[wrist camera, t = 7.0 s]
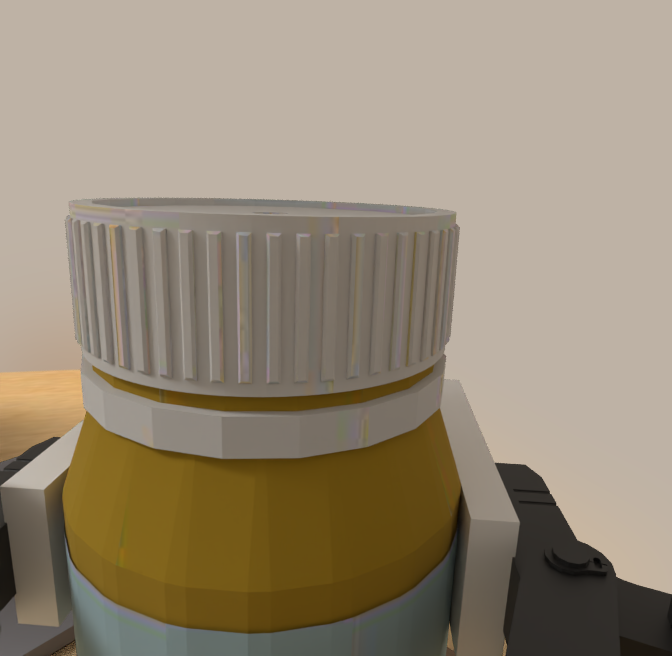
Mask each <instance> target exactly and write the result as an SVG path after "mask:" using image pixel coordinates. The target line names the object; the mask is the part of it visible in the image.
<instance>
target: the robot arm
mask: <svg viewBox="0 0 672 656" xmlns="http://www.w3.org/2000/svg"><path fill="white" fill-rule="evenodd" d="M440 410H441V413H442V417H443V421H444V424H445V428H446V431H447V435H448V438H449V442H450V445H451V449H452V452H453V456H454V459H455V463H456V467H457V471H458V474H459V478H460V482H461V490H460V501H459V511H458V521H457V528H458V525H459V530H458V540H457V550H456V560H455V570H454V580H453V590H452V600H451V610H450V620H449V621H450V627H451V633H452V639H453V645H454V651H455V656H502V654H503V646H504V639H505V640H506V643H507V651H506V656H672V594H668V593H664V592H661V591H657V590H654V589H650V588H646V587H643V586H639V585H636V584H633V583H630V582H627V581H624V580H622V579H620V578H618V577H616V573H615V571H614V568H613V566H612V563H611V562H610V561H609V560H608V559H607V558H606V557H605V556H604V555H603V554H602V553H601V552H599V551H597V550H596V549H594V548H592V547H591V546H589V545H588V544H585V543H582V542H580V541H577V539H576V537H575V535H574V533H573V532H572V530H571V528H570V526H569V525H568V523H567V521H566V519H565V518H564V516H563V514H562V512H561V511H560V509H559V507H558V506H556V502H555V500H554V498H553V497H552V495H551V494H550V491H549V489H548V488H547V486H546V484H545V482H544V481H543V479H542V477H540V476H539V475H538V474H537V473H535V472H534V471H533V470H531V469H530V468H529V467H527V466H526V465H521V464H505V463H494V461H493V458H492V456H491V454H490V451H489V449H488V447H487V444H486V442H485V439H484V437H483V435H482V432H481V431H480V428H479V426H478V423H477V421H476V419H475V416H474V414H473V411H472V409H471V407H470V404H469V402H468V400H467V397H466V395H465V393H464V390H463V388H462V386H461V383H460V381H459V380H446V379H444V385H443V393H442V399H441V406H440ZM83 421H84V420H82V421H81V422H80V423H79V424H77V425H76V426H75V427H74V428H72V429H71V430H70V431H69V432H67V433H66V434H65V435H64V436H62V437H53V438H51V439H49V440H46V441H44V442H42V443H39V444H37V445H35V446H33V447H31V448H30V449H28V450H27V451H26V452H24V453H23V454H22V455H20V456H19V457H18V458H17V459H16V461H13V462H11V463H10V464H9V465H7V466H6V467H5V468H4V470H3V471H0V612H1V610H2V609H3V608H4V607H5V606H6V605H7V604H8V602H9V601H10V600H11V599H12V598H13V597H15V604H16V611H17V619H18V623H19V624H31V625H43V626H55V627H59V626H60V625H61V624H62V622H63V621H64V619H65V618H66V617H67V615H68V614H69V612H70V611H71V610H72V605H71V595H70V586H69V576H68V566H67V557H66V547H65V538H64V522H65V520H64V510H63V501H62V494H63V487H64V483H65V480H66V477H67V474H68V470H69V467H70V464H71V461H72V457H73V454H74V451H75V447H76V444H77V441H78V438H79V434H80V431H81V428H82V425H83ZM0 633H1V625H0Z"/></svg>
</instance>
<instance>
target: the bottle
mask: <svg viewBox="0 0 672 656" xmlns="http://www.w3.org/2000/svg"><path fill="white" fill-rule="evenodd" d="M69 209H70V210H69V211H70V215H68V216H67V217H66V219H65V226H66V237H67V248H68V259H69V270H70V282H71V293H72V304H73V315H74V326H75V338H76V340H77V342H78V343H79V344H80V346H81V348H82V364H81V381H82V392H83V404H84V408H85V409H86V410H87V411H86V415H85V418H84V421H83V425H82V428H81V431H80V434H79V438H78V441H77V444H76V447H75V451H74V454H73V457H72V461H71V464H70V467H69V470H68V474H67V477H66V480H65V483H64V487H63V494H62V501H63V510H64V520H65V522H64V538H65V547H66V557H67V566H68V576H69V586H70V595H71V605H72V614H73V624H74V633H75V643H76V653H77V656H446V650H447V640H448V630H449V620H450V610H451V600H452V590H453V580H454V570H455V560H456V550H457V540H458V530H459V525H458V528H457V521H458V511H459V501H460V490H461V482H460V478H459V474H458V471H457V467H456V463H455V459H454V456H453V452H452V449H451V445H450V442H449V438H448V435H447V431H446V428H445V424H444V421H443V417H442V413H441V410H440V406H441V399H442V393H443V385H444V373H445V362H446V356H445V355H444V350H445V345H446V344H447V343H448V342H449V337H450V334H451V322H452V311H453V310H452V309H453V299H454V288H455V276H456V265H457V253H458V242H459V230H460V227H459V226H458V225H457V224H455V223H456V212H454V211H449V210H443V209H434V208H424V207H423V208H422V207H412V206H411V207H410V206H397V205H383V204H364V203H345V202H322V201H296V200H264V199H263V200H262V199H220V198H103V199H83V200H73V201H70V202H69Z"/></svg>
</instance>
